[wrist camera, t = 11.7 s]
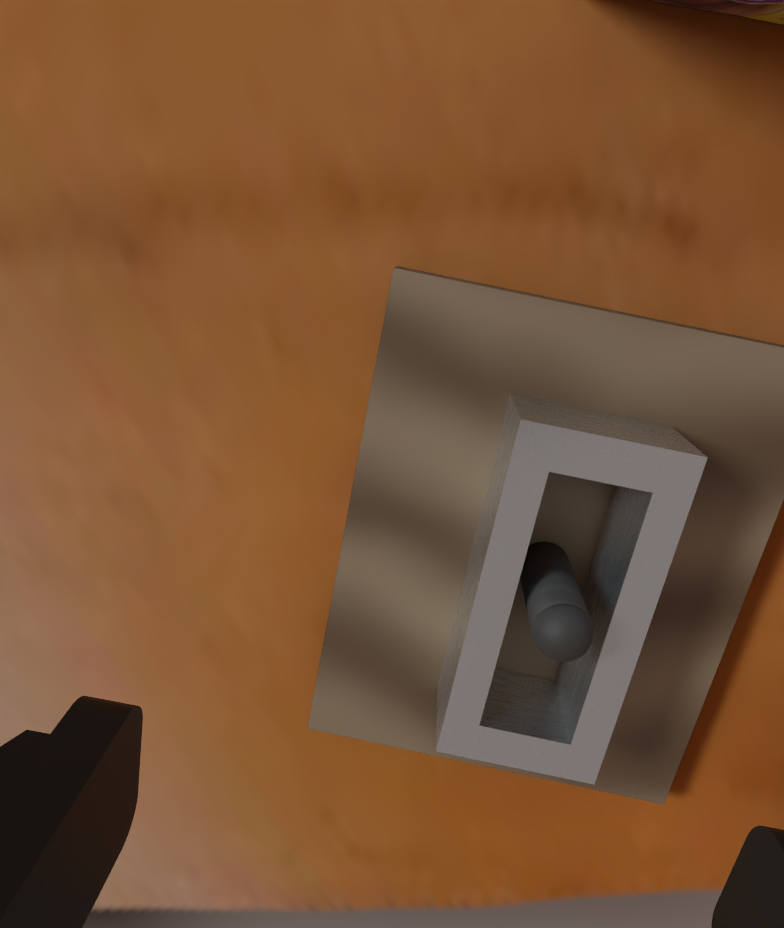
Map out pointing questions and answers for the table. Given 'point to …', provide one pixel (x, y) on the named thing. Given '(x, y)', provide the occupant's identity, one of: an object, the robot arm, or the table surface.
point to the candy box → (738, 8)
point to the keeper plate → (542, 511)
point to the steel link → (605, 591)
